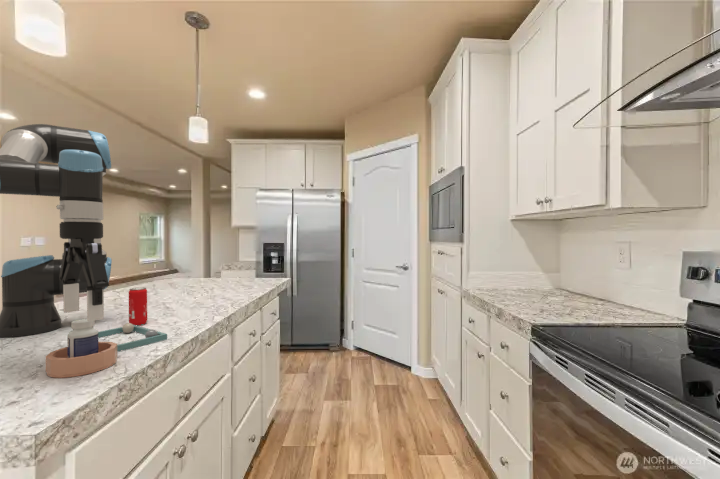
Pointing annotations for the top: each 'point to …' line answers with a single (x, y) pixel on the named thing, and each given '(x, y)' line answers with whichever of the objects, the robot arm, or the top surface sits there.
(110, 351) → the bowl
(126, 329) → the pebble
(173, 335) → the top surface
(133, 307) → the beverage can
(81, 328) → the pill bottle
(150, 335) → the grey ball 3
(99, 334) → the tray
